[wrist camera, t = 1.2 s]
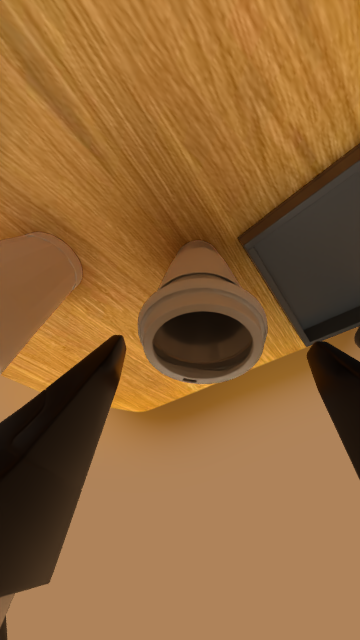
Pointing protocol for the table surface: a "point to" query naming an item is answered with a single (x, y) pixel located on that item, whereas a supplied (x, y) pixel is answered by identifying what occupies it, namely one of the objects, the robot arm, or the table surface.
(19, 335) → the cup
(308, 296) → the tray
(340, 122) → the table surface
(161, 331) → the cup
